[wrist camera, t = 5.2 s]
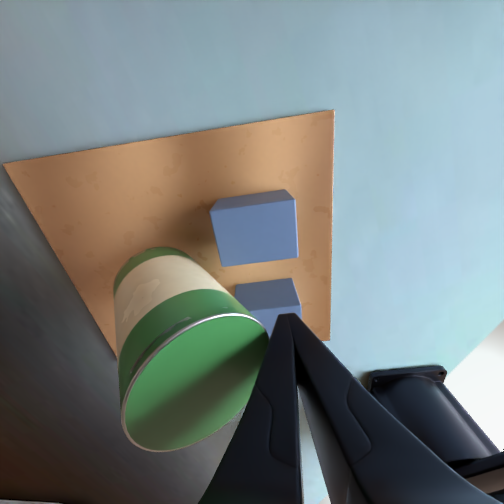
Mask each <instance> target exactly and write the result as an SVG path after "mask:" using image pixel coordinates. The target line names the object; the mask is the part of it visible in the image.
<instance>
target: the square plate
mask: <svg viewBox="0 0 504 504" xmlns="http://www.w3.org/2000/svg"><path fill="white" fill-rule="evenodd" d="M0 504H61V503H54V502H37V501H14V500H0Z"/></svg>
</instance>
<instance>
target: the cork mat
mask: <svg viewBox="0 0 504 504" xmlns="http://www.w3.org/2000/svg"><path fill="white" fill-rule="evenodd" d="M334 118H335V110H334V109H333V110H327V111H321V112H315V113H309V114H303V115H297V116H291V117H284V118H278V119H272V120H266V121H260V122H254V123H248V124H242V125H236V126H230V127H224V128H217V129H211V130H205V131H199V132H193V133H187V134H181V135H175V136H169V137H163V138H156V139H150V140H144V141H138V142H132V143H126V144H120V145H114V146H108V147H102V148H96V149H89V150H83V151H77V152H71V153H65V154H59V155H53V156H47V157H41V158H35V159H29V160H22V161H16V162H10V163H4V164H3V166H4V168H5V169H6V171H7V173H8V174H9V176H10V178H11V179H12V181H13V183H14V185H15V186H16V188H17V190H18V191H19V193H20V195H21V196H22V198H23V200H24V201H25V203H26V205H27V206H28V208H29V210H30V212H31V213H32V215H33V217H34V218H35V220H36V222H37V223H38V225H39V227H40V228H41V230H42V232H43V233H44V235H45V237H46V239H47V240H48V242H49V244H50V245H51V247H52V249H53V250H54V252H55V254H56V255H57V257H58V259H59V260H60V262H61V264H62V265H63V267H64V269H65V271H66V272H67V274H68V276H69V277H70V279H71V281H72V282H73V284H74V286H75V287H76V289H77V291H78V292H79V294H80V296H81V298H82V299H83V301H84V303H85V304H86V306H87V308H88V309H89V311H90V313H91V314H92V316H93V318H94V319H95V321H96V323H97V324H98V326H99V328H100V330H101V331H102V333H103V335H104V336H105V338H106V340H107V341H108V343H109V345H110V346H111V348H112V350H113V351H114V353H115V355H116V357H117V348H116V332H115V315H114V296H113V285H114V280H115V277H116V275H117V273H118V271H119V269H120V268H121V266H122V265H123V264H124V263H125V262H126V261H127V260H128V259H129V258H131V257H132V256H134V255H135V254H137V253H139V252H141V251H143V250H146V249H149V248H153V247H172V248H176V249H179V250H181V251H183V252H185V253H186V254H188V255H189V256H190V257H191V258H192V259H193V260H194V261H196V262H197V263H198V264H199V265H200V266H201V267H202V268H203V269H204V270H205V271H206V272H208V273H209V274H210V275H211V276H212V277H213V278H214V279H215V280H216V281H217V282H218V283H219V284H220V285H221V286H222V287H224V288H225V289H226V290H227V291H228V292H229V293H230V294H231V295H232V296H233V297H234V295H235V286H236V285H237V284H244V283H253V282H261V281H269V280H277V279H286V278H292V279H293V282H294V285H295V288H296V291H297V294H298V297H299V300H300V303H301V311H302V321H303V322H304V323H305V324H306V325H307V326H308V327H309V328H310V329H311V330H312V332H313V333H314V334H315V335H316V336H317V337H318V338H319V339H320V340H321V341H328V340H330V310H331V262H332V214H333V166H334ZM283 189H285V190H287V191H288V192H289V193H290V195H291V196H292V197H293V198H294V199H295V200H296V216H297V235H298V254H299V256H298V258H291V259H284V260H276V261H268V262H260V263H252V264H244V265H236V266H228V267H222V266H221V262H220V258H219V254H218V249H217V245H216V241H215V236H214V232H213V228H212V223H211V219H210V215H209V211H210V210H211V208H212V207H213V206H214V204H215V203H216V201H217V200H218V199H221V198H228V197H235V196H241V195H248V194H255V193H262V192H269V191H276V190H283Z"/></svg>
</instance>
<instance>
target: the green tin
mask: <svg viewBox="0 0 504 504" xmlns="http://www.w3.org/2000/svg"><path fill="white" fill-rule="evenodd" d="M113 296H114V315H115V332H116V348H117V364H118V374H119V390H120V406H121V422H122V426H123V430H124V432H125V434H126V436H127V438H128V439H129V440H130V441H131V442H132V443H133V444H134V445H136V446H137V447H139V448H141V449H144V450H147V451H153V452H167V451H174V450H177V449H181V448H184V447H187V446H190V445H193V444H195V443H197V442H199V441H201V440H203V439H205V438H206V437H208V436H210V435H211V434H213V433H215V432H216V431H218V430H219V429H220V428H222V427H223V426H224V425H226V424H227V423H228V422H229V421H230V420H231V419H233V418H234V417H235V416H236V415H237V414H238V413H239V412H240V411H241V410H242V408H243V407H244V406H245V405H246V404H247V403H248V400H249V398H250V395H251V392H252V389H253V386H254V385H255V381H256V378H257V375H258V372H259V369H260V366H261V363H262V360H263V357H264V354H265V351H266V349H267V346H268V343H269V340H270V339H269V335H268V333H267V331H266V329H265V327H264V326H263V325H262V324H261V323H260V322H259V321H258V320H257V319H256V318H255V317H254V316H253V315H252V314H251V313H250V312H249V311H248V310H247V309H246V308H245V307H243V306H242V305H241V304H240V303H239V302H238V301H237V300H236V299H235V298H234V297H233V296H232V295H231V294H230V293H229V292H228V291H227V290H226V289H225V288H224V287H222V286H221V285H220V284H219V283H218V282H217V281H216V280H215V279H214V278H213V277H212V276H211V275H210V274H209V273H208V272H206V271H205V270H204V269H203V268H202V267H201V266H200V265H199V264H198V263H197V262H196V261H194V260H193V259H192V258H191V257H190V256H189V255H188V254H186V253H185V252H183V251H181V250H179V249H176V248H172V247H153V248H149V249H146V250H143V251H141V252H139V253H137V254H135V255H134V256H132V257H131V258H129V259H128V260H127V261H126V262H125V263H124V264H123V265H122V266H121V268H120V269H119V271H118V273H117V275H116V277H115V280H114V285H113Z"/></svg>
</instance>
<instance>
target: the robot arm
mask: <svg viewBox="0 0 504 504" xmlns="http://www.w3.org/2000/svg"><path fill="white" fill-rule="evenodd" d="M446 374H447V371H446V370H445V369H444V368H443V366H430V367H420V368H409V369H399V370H388V371H377V372H373V373H371V374H370V377H369V384H368V391H367V390H366V389H365V388H364V387H363V386H362V385H361V384H360V382H359V381H358V380H357V379H356V378H355V377H353V375H352V374H351V373H350V372H349V371H348V370H347V368H346V367H345V366H344V365H343V364H342V363H341V362H340V361H339V360H338V359H337V358H336V357H335V355H334V354H333V353H332V352H331V351H330V350H329V349H328V348H327V347H326V346H325V345H324V343H323V342H322V341H321V340H320V339H319V338H318V337H317V336H316V335H315V334H314V333H313V332H312V330H311V329H310V328H309V327H308V326H307V325H306V324H305V323H304V322H303V321H302V320H301V319H300V317H299V316H298V315H297V314H296V313H285V314H279V315H278V316H277V319H276V322H275V325H274V328H273V331H272V334H271V337H270V340H269V343H268V346H267V349H266V351H265V354H264V357H263V360H262V363H261V366H260V369H259V372H258V375H257V378H256V381H255V385H254V386H253V389H252V392H251V395H250V398H249V400H248V403H247V405H246V408H245V411H244V413H243V415H242V418H241V420H240V422H239V424H238V426H237V429H236V431H235V433H234V435H233V437H232V439H231V441H230V443H229V445H228V447H227V449H226V452H225V454H224V456H223V458H222V460H221V462H220V464H219V466H218V468H217V470H216V472H215V474H214V476H213V478H212V480H211V482H210V484H209V486H208V488H207V490H206V491H205V493H204V495H203V496H202V498H201V500H200V501H199V503H198V504H304V494H303V477H302V459H301V442H300V424H299V407H298V390H297V386H298V389H299V393H300V396H301V400H302V403H303V407H304V410H305V414H306V417H307V421H308V424H309V428H310V431H311V435H312V438H313V442H314V445H315V449H316V452H317V456H318V459H319V463H320V466H321V470H322V473H323V477H324V480H325V484H326V487H327V491H328V494H329V498H330V501H331V504H504V451H503V452H500V451H499V450H498V448H497V447H496V446H495V445H494V444H493V442H492V441H491V440H490V439H489V438H488V437H487V435H486V434H485V433H484V432H483V431H482V429H481V428H480V427H479V426H478V425H477V423H476V422H475V421H474V420H473V419H472V417H471V416H470V415H469V414H468V413H467V411H466V410H465V409H464V408H463V407H462V405H461V404H460V403H459V402H458V401H457V400H456V398H455V397H454V396H453V395H452V394H451V392H450V391H449V390H448V389H447V388H446V386H445V385H444V384H443V382H444V380H445V377H446ZM503 450H504V449H503Z"/></svg>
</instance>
